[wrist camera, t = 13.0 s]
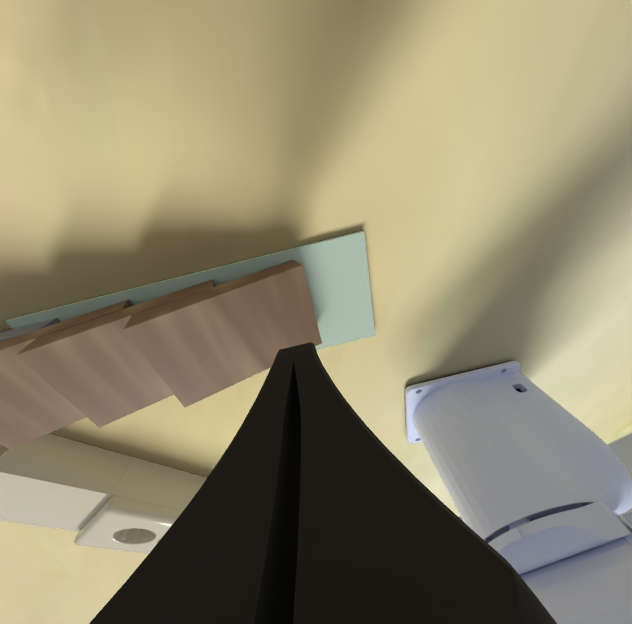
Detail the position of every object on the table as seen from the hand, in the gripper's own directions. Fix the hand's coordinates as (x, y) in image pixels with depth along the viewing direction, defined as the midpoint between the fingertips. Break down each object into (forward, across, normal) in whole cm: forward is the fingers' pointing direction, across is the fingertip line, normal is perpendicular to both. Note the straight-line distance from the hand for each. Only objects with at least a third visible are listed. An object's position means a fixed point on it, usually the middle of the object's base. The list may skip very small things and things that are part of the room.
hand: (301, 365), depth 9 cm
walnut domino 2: (+5, +4, 0) cm, 6 cm away
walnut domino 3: (+5, -1, 0) cm, 5 cm away
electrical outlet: (+6, +19, +14) cm, 25 cm away
